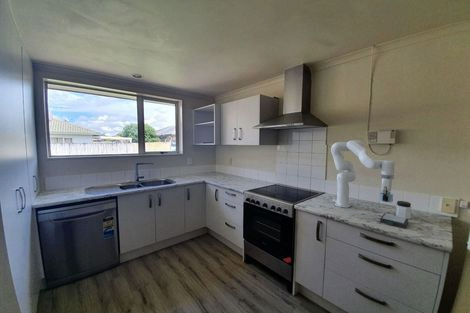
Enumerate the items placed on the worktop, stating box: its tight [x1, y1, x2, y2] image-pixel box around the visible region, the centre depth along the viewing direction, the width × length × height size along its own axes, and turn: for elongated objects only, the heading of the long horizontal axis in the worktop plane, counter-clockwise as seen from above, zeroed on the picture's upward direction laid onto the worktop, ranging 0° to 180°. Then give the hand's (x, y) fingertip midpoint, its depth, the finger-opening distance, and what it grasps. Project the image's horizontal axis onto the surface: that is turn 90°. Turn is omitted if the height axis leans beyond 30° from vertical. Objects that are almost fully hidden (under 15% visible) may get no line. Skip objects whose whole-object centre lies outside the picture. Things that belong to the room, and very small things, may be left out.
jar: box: [395, 200, 412, 220], centre depth 148 cm, size 9×8×12 cm
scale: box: [379, 213, 409, 229], centre depth 138 cm, size 14×16×4 cm
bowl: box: [379, 192, 394, 203], centre depth 141 cm, size 7×7×6 cm
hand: (386, 199), depth 141 cm, fingers closed on bowl, 7 cm apart
